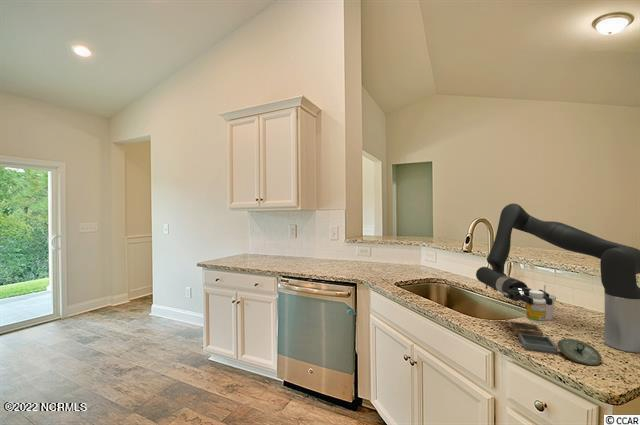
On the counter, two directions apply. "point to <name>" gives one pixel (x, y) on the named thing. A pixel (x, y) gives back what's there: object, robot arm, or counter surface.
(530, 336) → the tray
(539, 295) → the supplement bottle
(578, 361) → the lid
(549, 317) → the smoothie
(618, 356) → the counter surface
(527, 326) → the collar block
